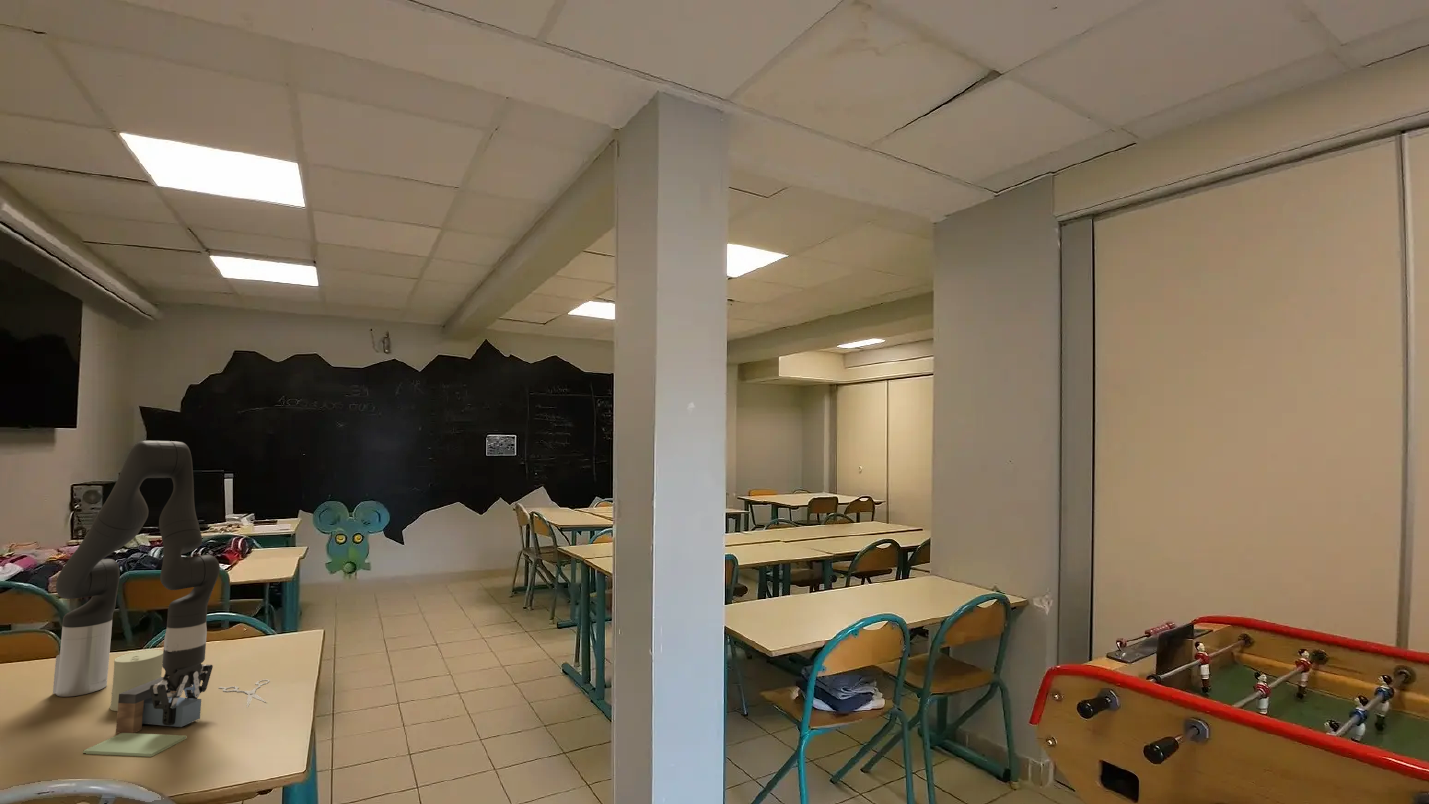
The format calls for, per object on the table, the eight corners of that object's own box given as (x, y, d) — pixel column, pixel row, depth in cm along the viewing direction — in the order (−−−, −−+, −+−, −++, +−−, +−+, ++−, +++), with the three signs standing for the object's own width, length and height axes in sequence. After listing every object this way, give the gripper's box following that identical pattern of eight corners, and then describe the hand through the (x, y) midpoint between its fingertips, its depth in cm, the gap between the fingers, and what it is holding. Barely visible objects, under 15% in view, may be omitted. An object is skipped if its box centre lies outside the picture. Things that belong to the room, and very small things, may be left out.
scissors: (267, 677, 170) (283, 698, 156) (267, 679, 170) (282, 701, 156) (218, 687, 163) (230, 710, 149) (218, 690, 162) (230, 713, 148)
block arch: (115, 733, 137) (118, 693, 138) (158, 713, 147) (161, 677, 148) (132, 733, 137) (135, 694, 137) (174, 714, 147) (177, 677, 147)
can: (102, 714, 146) (107, 662, 147) (118, 699, 154) (122, 650, 155) (153, 707, 151) (157, 656, 151) (165, 693, 159) (169, 645, 160)
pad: (82, 753, 128) (83, 750, 128) (121, 735, 136) (122, 732, 136) (151, 756, 127) (151, 753, 127) (186, 738, 135) (186, 735, 135)
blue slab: (127, 722, 141) (129, 702, 141) (147, 713, 145) (149, 694, 145) (181, 727, 139) (183, 707, 139) (199, 718, 143) (201, 699, 144)
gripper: (197, 634, 150) (191, 705, 149) (139, 653, 136) (133, 733, 135) (226, 635, 150) (221, 707, 148) (172, 655, 135) (165, 735, 134)
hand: (179, 719), depth 142 cm, fingers closed on blue slab, 4 cm apart
